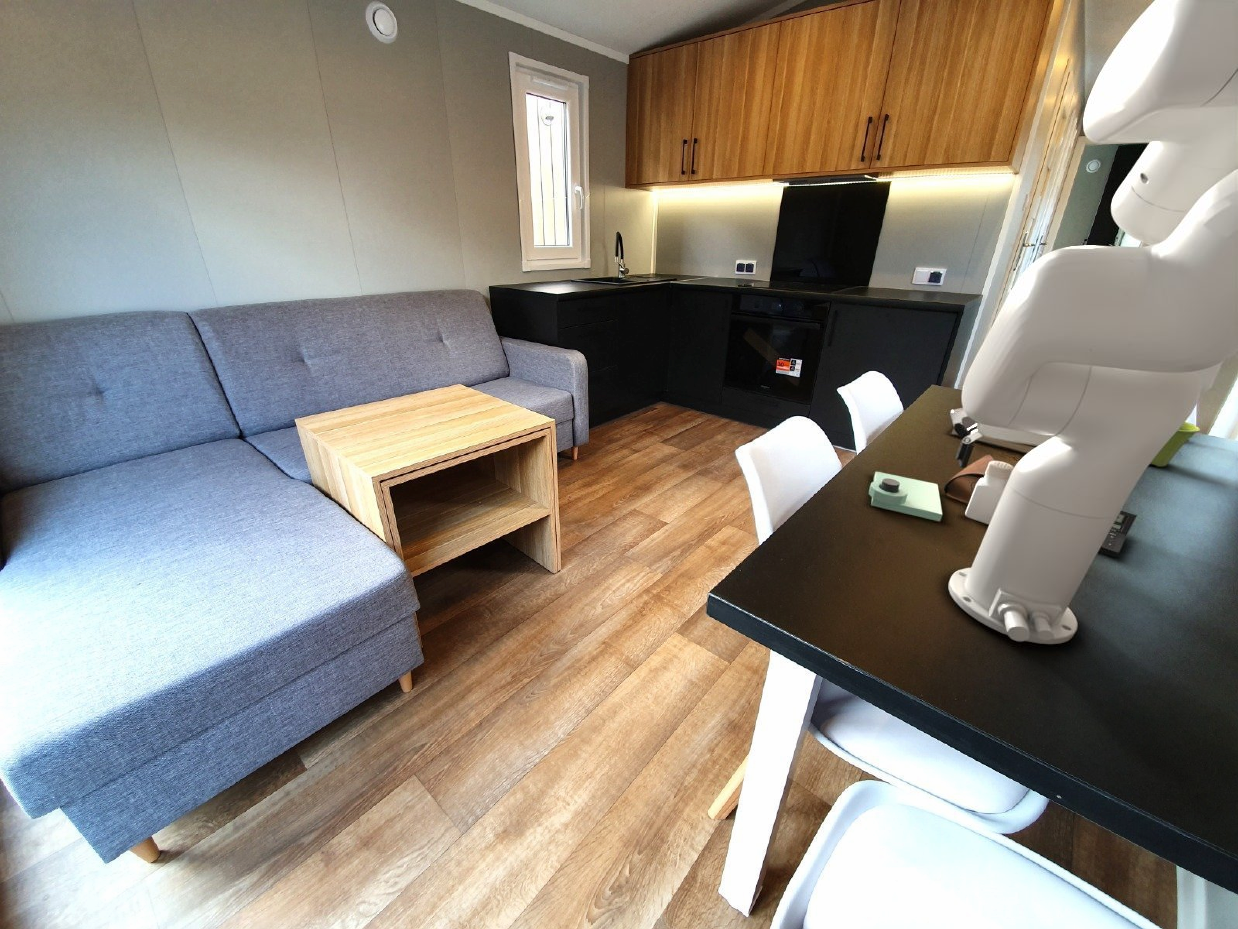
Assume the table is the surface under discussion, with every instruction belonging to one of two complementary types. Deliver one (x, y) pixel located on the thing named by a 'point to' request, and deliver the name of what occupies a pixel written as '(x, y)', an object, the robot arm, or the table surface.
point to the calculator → (1117, 534)
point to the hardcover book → (996, 440)
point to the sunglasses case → (967, 480)
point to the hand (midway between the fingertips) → (997, 471)
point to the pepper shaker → (989, 492)
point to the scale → (907, 497)
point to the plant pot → (1174, 444)
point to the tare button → (890, 485)
